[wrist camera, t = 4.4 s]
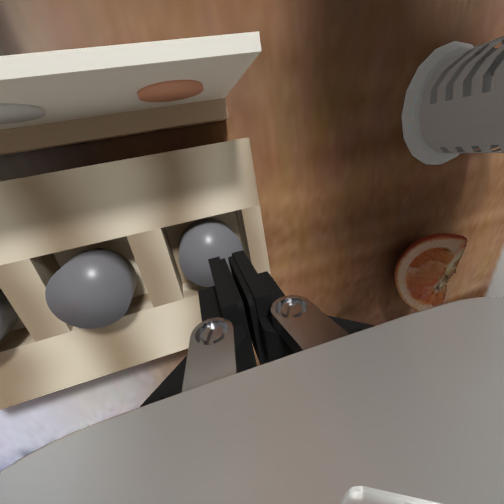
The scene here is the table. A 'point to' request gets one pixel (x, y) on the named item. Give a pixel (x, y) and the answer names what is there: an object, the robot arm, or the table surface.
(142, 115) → the pattern card
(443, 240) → the fruit slice
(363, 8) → the table surface
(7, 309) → the button
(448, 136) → the french press
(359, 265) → the table surface
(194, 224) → the button
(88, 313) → the middle button
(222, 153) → the button board
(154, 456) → the robot arm
